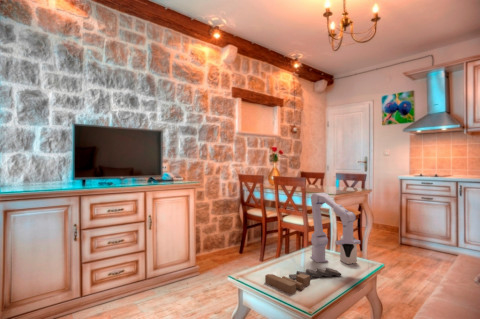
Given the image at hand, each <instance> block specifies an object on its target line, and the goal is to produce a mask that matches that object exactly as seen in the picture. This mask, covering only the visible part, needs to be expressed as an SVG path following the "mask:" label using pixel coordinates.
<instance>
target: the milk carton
mask: <svg viewBox="0 0 480 319" xmlns="http://www.w3.org/2000/svg"><path fill="white" fill-rule="evenodd" d="M340 240H343V234H342V235H341V236H340ZM353 240H358V239H357V238H356V237H355V236H353ZM353 245H354V248H353V250H352V252H351V254H350V257H346V255H345V251H344V248H343V246H342V245H339V246H340V247H339V248H340V249H339V252H340V254H339V257H340V258H339V261H341V262H342V263H344V264H346V265H350V264H352V263H353V264H357V263H358V262H357V260H358V248H357V247H358V244H353ZM356 262H357V263H356ZM353 264H352V265H353Z"/></svg>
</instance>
